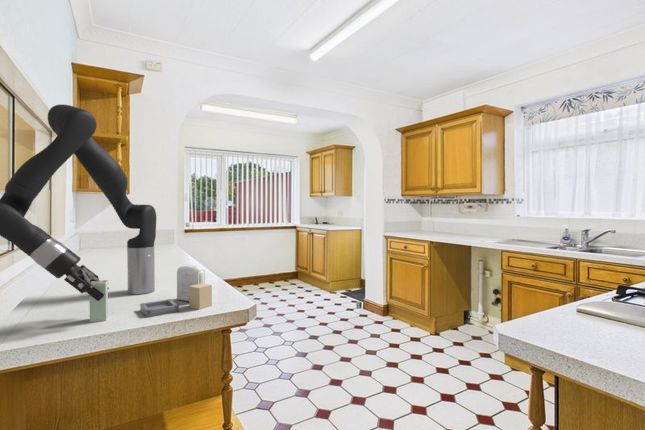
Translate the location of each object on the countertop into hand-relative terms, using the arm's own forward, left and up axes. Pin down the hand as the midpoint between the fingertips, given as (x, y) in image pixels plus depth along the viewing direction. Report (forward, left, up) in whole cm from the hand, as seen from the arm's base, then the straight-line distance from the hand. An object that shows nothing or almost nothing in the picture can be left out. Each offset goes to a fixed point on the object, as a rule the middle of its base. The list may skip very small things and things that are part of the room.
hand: (104, 294), depth 105 cm
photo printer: (-5, +27, -7) cm, 28 cm away
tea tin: (0, -1, -7) cm, 7 cm away
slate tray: (+2, +15, -7) cm, 16 cm away
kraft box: (+5, +27, -7) cm, 28 cm away
